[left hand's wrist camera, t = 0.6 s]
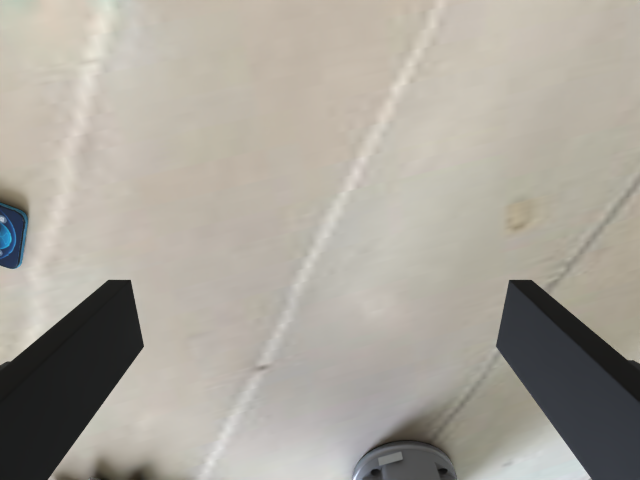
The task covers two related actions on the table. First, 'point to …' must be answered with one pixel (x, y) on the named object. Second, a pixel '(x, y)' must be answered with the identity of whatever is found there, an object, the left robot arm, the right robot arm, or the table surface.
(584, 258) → the table surface
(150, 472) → the table surface
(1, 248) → the smartphone
